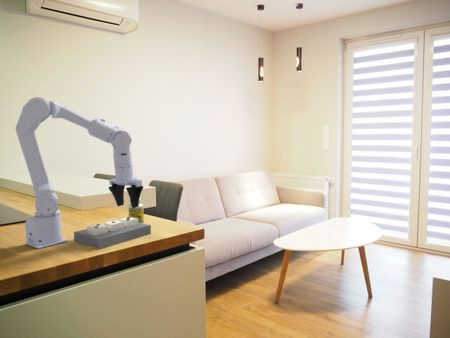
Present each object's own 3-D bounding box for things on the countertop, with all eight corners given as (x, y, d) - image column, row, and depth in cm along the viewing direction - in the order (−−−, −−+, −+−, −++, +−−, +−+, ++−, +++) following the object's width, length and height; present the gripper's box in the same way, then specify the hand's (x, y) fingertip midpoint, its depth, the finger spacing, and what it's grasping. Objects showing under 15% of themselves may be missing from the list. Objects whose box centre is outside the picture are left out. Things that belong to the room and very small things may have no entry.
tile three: (127, 229, 117) (127, 220, 117) (119, 227, 120) (118, 218, 120) (138, 227, 121) (137, 217, 120) (129, 225, 123) (129, 216, 123)
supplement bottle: (143, 221, 136) (143, 197, 136) (143, 225, 131) (143, 199, 130) (129, 222, 135) (128, 197, 134) (128, 226, 130) (127, 200, 129)
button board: (99, 249, 104) (98, 239, 104) (74, 241, 111) (73, 232, 111) (150, 233, 120) (150, 225, 120) (126, 227, 128) (125, 219, 127)
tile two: (95, 238, 108) (95, 228, 107) (87, 236, 110) (86, 226, 110) (108, 235, 111) (107, 225, 111) (99, 233, 114) (99, 223, 113)
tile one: (112, 234, 112) (111, 224, 112) (103, 231, 115) (103, 222, 115) (123, 231, 116) (123, 221, 116) (115, 229, 119) (114, 219, 118)
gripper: (147, 165, 117) (151, 205, 119) (119, 164, 126) (123, 202, 128) (130, 168, 112) (134, 210, 113) (102, 167, 120) (106, 206, 122)
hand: (127, 206), depth 120 cm, fingers open, 7 cm apart
